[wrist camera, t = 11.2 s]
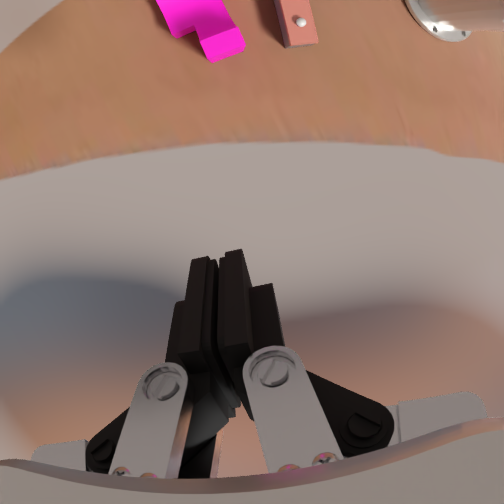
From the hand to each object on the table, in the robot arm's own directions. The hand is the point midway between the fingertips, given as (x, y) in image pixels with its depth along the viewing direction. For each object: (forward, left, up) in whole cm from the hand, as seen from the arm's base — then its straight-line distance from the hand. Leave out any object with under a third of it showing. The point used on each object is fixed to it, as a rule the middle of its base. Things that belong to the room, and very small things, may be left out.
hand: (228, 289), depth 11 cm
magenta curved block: (+1, -16, -30) cm, 34 cm away
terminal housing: (-10, -13, -29) cm, 34 cm away
